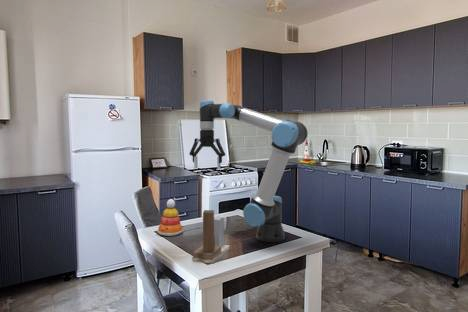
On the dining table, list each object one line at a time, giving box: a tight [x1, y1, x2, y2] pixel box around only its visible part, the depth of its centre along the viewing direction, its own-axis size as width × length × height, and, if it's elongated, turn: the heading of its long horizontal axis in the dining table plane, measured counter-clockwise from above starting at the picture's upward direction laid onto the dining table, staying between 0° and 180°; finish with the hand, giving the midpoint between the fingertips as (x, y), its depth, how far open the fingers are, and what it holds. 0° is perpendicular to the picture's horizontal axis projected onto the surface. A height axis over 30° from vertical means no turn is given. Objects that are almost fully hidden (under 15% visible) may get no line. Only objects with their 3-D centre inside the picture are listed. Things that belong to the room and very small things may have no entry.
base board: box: [191, 244, 231, 265], centre depth 163 cm, size 10×21×4 cm, turn 161°
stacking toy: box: [156, 198, 184, 237], centre depth 196 cm, size 14×14×20 cm
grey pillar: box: [214, 215, 225, 247], centre depth 169 cm, size 4×6×14 cm, turn 161°
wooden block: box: [202, 209, 215, 252], centre depth 158 cm, size 9×4×18 cm, turn 179°
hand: (207, 168), depth 191 cm, fingers open, 13 cm apart
